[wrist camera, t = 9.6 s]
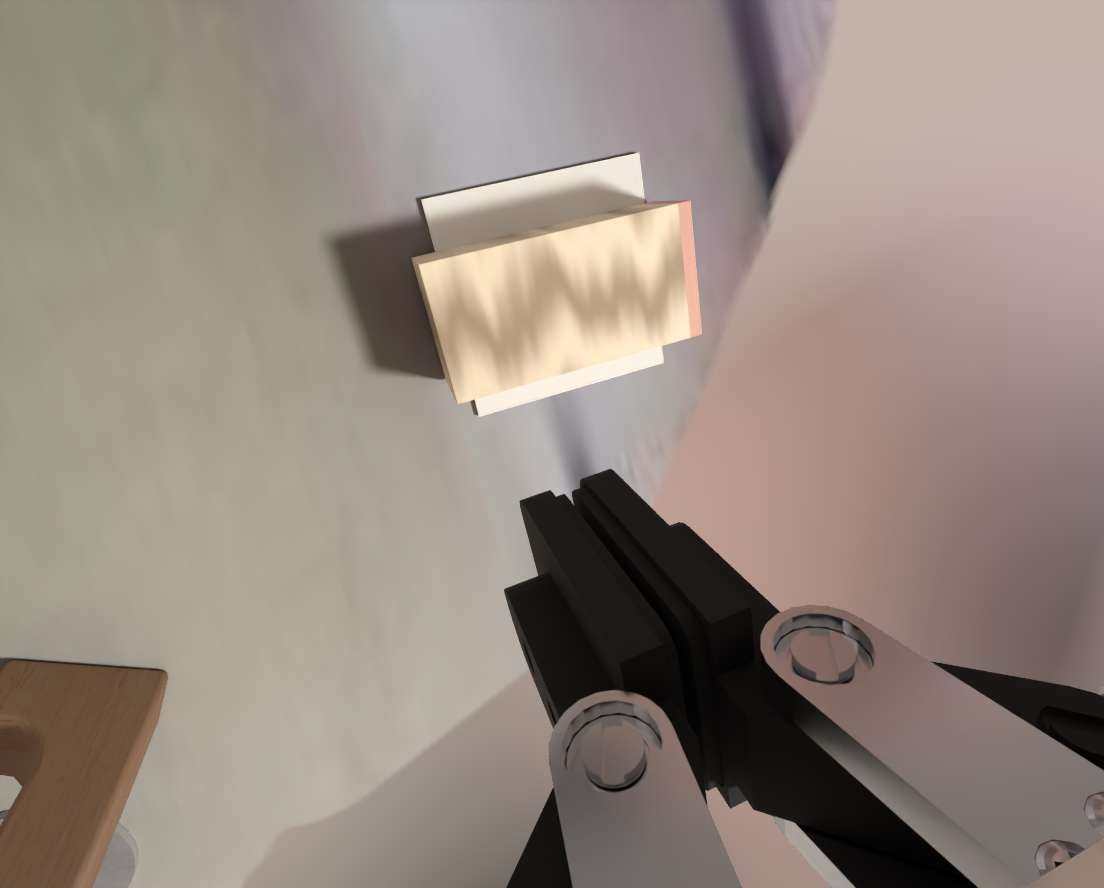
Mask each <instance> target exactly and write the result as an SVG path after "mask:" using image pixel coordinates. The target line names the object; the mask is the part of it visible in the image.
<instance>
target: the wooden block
mask: <svg viewBox="0 0 1104 888" xmlns="http://www.w3.org/2000/svg"><path fill="white" fill-rule="evenodd" d="M167 680H168V676H167V672H165V671H158V670H144V669H131V668H117V667H103V666H89V665H75V664H61V663H47V662H33V661H20V660H12V661H9V662H7V663H6V664H5V665H4V666H3V668H2V669H1V670H0V775H6V776H13V777H15V779H16V780H17V781H18V782H19V783H20V785H21V786H22V789H21V791H20V793H19V794H18V796H17V798H16V799H15V801H14V803H13V805H12V806H11V808H10V810H9V812H8V813H7V815H6V817H5V818H4V820H3V822H2V824H1V825H0V888H93V886H94V883H95V881H96V878H97V876H98V873H99V871H100V868H101V865H102V863H103V860H104V858H105V855H106V853H107V850H108V848H109V845H110V842H111V840H112V837H113V835H114V832H115V830H116V827H117V825H118V822H119V819H120V817H121V814H122V812H123V809H124V807H125V804H126V802H127V799H128V796H129V794H130V791H131V789H132V786H133V784H134V781H135V779H136V776H137V773H138V771H139V768H140V766H141V763H142V761H143V758H144V756H145V753H146V751H147V748H148V745H149V743H150V740H151V738H152V735H153V733H154V730H155V728H156V725H157V723H158V720H159V716H160V711H161V707H162V702H163V698H164V693H165V689H166V684H167Z"/></svg>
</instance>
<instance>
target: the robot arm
mask: <svg viewBox="0 0 1104 888" xmlns="http://www.w3.org/2000/svg"><path fill="white" fill-rule="evenodd" d="M572 497H573V503H574V505H573V504H572V502H571V501H570V500H569V499H568V497H567V496H566V495H565V494H562V495H560V496H557V497H555V495H554V494H553V493H552V491H551V490H549V491H546V492H543V493H540V494H537V495H535V496H532V497H529V498H526V499H523V500H520V508H521V512H522V516H523V520H524V523H525V527H526V531H527V535H528V538H529V542H530V546H531V550H532V553H533V557H534V561H535V565H536V568H537V572H538V576H537V577H534V578H532V579H529V580H527V581H524V582H521V583H519V584H516V585H514V586H511V587H508V588H506V589H504V592H505V596H506V600H507V603H508V607H509V610H510V613H511V616H512V620H513V623H514V626H515V629H516V633H517V635H518V638H519V641H520V644H521V647H522V650H523V653H524V656H525V658H526V661H527V664H528V667H529V669H530V672H531V674H532V677H533V679H534V682H535V684H536V687H537V689H538V692H539V694H540V697H541V699H542V702H543V704H544V707H545V709H546V711H547V714H548V717H549V719H550V721H551V724H552V726H553V732H552V735H551V738H550V741H549V765H550V770H551V775H552V781H553V786H554V787H553V789H552V791H551V793H550V795H549V798H548V800H547V802H546V804H545V806H544V808H543V811H542V813H541V815H540V817H539V819H538V821H537V823H536V825H535V828H534V830H533V832H532V834H531V836H530V838H529V840H528V843H527V845H526V847H525V849H524V851H523V853H522V856H521V858H520V860H519V862H518V864H517V866H516V868H515V871H514V873H513V875H512V877H511V879H510V881H509V883H508V885H507V888H742V886H741V884H740V882H739V879H738V877H737V875H736V872H735V870H734V868H733V865H732V863H731V861H730V859H729V856H728V854H727V852H726V849H725V847H724V845H723V842H722V840H721V837H720V835H719V833H718V830H717V828H716V826H715V823H714V821H713V819H712V816H711V814H710V812H709V810H708V807H707V800H706V793H705V790H707V791H708V790H710V789H712V788H714V787H717V788H718V790H719V792H720V793H721V795H722V796H723V798H724V799H725V801H726V803H727V804H728V806H729V807H730V808H732V807H735V806H736V805H738V804H740V803H742V802H744V801H746V800H747V801H748V802H749V804H750V805H751V806H752V808H753V809H754V810H756V811H760V812H763V813H766V814H769V815H772V816H773V817H774V820H775V823H776V824H777V825H778V827H779V829H780V830H781V831H782V833H783V834H784V836H785V837H786V838H787V840H788V841H789V842H790V843H791V844H792V845H793V846H794V847H795V848H796V850H797V851H798V852H799V853H800V854H801V855H802V856H803V857H804V859H805V860H806V861H807V862H808V863H809V864H810V865H811V866H812V867H813V868H814V870H815V871H816V872H817V873H818V874H819V875H820V876H821V878H822V879H823V880H824V881H825V882H826V883H827V884H828V885H829V886H830V888H1104V685H1102V686H1101V690H1100V693H1099V695H1098V694H1096V693H1092V692H1089V691H1085V690H1081V689H1077V688H1073V687H1070V686H1064V685H1059V684H1053V683H1048V682H1042V681H1037V680H1031V679H1026V678H1019V677H1014V676H1008V675H1003V674H998V673H992V672H987V671H981V670H975V669H970V668H964V667H959V666H953V665H948V664H942V663H936V662H931V661H929V660H927V659H926V658H924V657H922V656H921V655H919V654H918V653H916V652H914V651H913V650H911V649H910V648H908V647H907V646H905V645H903V644H902V643H900V642H899V641H897V640H895V639H894V638H892V637H891V636H889V635H888V634H886V633H884V632H883V631H881V630H880V629H878V628H876V627H875V626H873V625H871V624H870V623H868V622H867V621H865V620H864V619H862V618H859V617H858V616H856V615H854V614H851V613H849V612H847V611H845V610H840V609H837V608H833V607H829V606H818V605H817V606H816V605H805V606H799V607H792V608H790V609H787V610H785V611H782V612H779V611H778V610H777V609H776V608H775V607H774V606H773V605H772V604H771V603H770V602H769V601H768V600H767V599H765V598H764V596H762V595H761V594H760V593H759V592H758V591H757V590H756V589H755V588H754V587H753V586H752V585H751V584H750V583H749V582H747V581H746V580H745V579H744V578H743V577H742V576H741V575H740V574H739V573H738V572H737V571H736V570H734V568H733V567H731V566H730V565H729V564H728V563H727V562H726V561H725V560H724V559H723V558H722V557H721V556H720V555H719V554H718V553H716V552H715V551H714V550H713V549H712V548H711V547H710V546H709V545H708V544H707V543H706V542H705V541H704V540H703V539H702V538H700V537H699V536H698V535H697V534H696V533H695V532H694V531H693V530H692V529H691V528H690V527H688V526H687V525H686V524H684V523H680V522H678V523H676V524H673V525H670V526H669V525H668V524H667V523H666V522H665V521H664V520H663V519H662V518H661V517H660V516H659V515H658V514H657V513H656V512H655V511H654V510H653V509H652V508H651V507H650V506H649V505H648V504H647V503H646V502H645V501H644V500H643V499H642V498H641V497H640V496H639V495H638V494H637V493H636V492H635V491H634V490H633V489H632V488H631V487H630V486H629V485H628V484H627V483H626V482H625V481H624V480H623V479H622V478H621V477H620V476H619V475H617V474H616V473H615V472H614V471H613V470H612V469H609V470H606V471H603V472H600V473H597V474H594V475H591V476H589V477H586V478H583V479H581V481H580V488H579V489H577V490H574V491H573V492H572Z"/></svg>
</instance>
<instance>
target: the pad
mask: <svg viewBox="0 0 1104 888" xmlns="http://www.w3.org/2000/svg"><path fill="white" fill-rule="evenodd" d="M421 202H422V206H423V209H424V213H425V217H426V221H427V224H428V228H429V232H430V236H431V239H432V243H433V247H434V251H435V252H438V251H442V250H446V249H451V248H455V247H459V246H464V245H468V244H472V243H476V242H481V241H485V240H489V239H493V238H498V237H502V236H506V235H511V234H515V233H519V232H523V231H528V230H532V229H536V228H540V227H545V226H549V225H553V224H558V223H562V222H566V221H570V220H575V219H579V218H583V217H588V216H592V215H596V214H600V213H605V212H609V211H613V210H617V209H622V208H626V207H630V206H635V205H639V204H643V203H645V199H644V190H643V182H642V173H641V165H640V156H639V153H635V154H630V155H626V156H621V157H616V158H612V159H607V160H602V161H598V162H593V163H588V164H584V165H579V166H574V167H570V168H565V169H561V170H556V171H551V172H547V173H542V174H537V175H533V176H528V177H523V178H519V179H514V180H509V181H505V182H500V183H496V184H491V185H486V186H482V187H477V188H472V189H468V190H463V191H458V192H454V193H449V194H444V195H440V196H435V197H430V198H426V199H421ZM661 363H664V362H663V353H662V346H659V347H656V348H652V349H649V350H645V351H642V352H638V353H635V354H631V355H628V356H624V357H621V358H617V359H614V360H610V361H607V362H604V363H600V364H597V365H593V366H590V367H586V368H583V369H579V370H576V371H572V372H569V373H565V374H562V375H558V376H555V377H551V378H548V379H544V380H541V381H537V382H534V383H530V384H527V385H523V386H520V387H516V388H513V389H509V390H506V391H502V392H499V393H495V394H492V395H488V396H485V397H481V398H478V399H474V401H475V404H476V408H477V412H478V415H479V417H480V416H484V415H487V414H491V413H494V412H497V411H501V410H504V409H508V408H511V407H514V406H518V405H521V404H525V403H528V402H531V401H535V400H538V399H542V398H545V397H549V396H552V395H555V394H559V393H562V392H566V391H569V390H572V389H576V388H579V387H583V386H586V385H590V384H593V383H596V382H600V381H603V380H607V379H610V378H613V377H617V376H620V375H624V374H627V373H630V372H634V371H637V370H641V369H644V368H648V367H651V366H654V365H658V364H661Z"/></svg>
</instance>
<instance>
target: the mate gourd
mask: <svg viewBox="0 0 1104 888" xmlns="http://www.w3.org/2000/svg"><path fill="white" fill-rule="evenodd" d="M8 812H9V810H8V811H4V812H1V813H0V825H1V824H2V822H3V820H4V818H5V817H6V815H7V813H8ZM137 863H138V849H137V846H136V843H135V840H134V839H133V837H132V836H131V834H130V833H129V831H128V830H127V829H125V828H124V827H123V826H122V825H121V824H120V823H118V825H117V827H116V830H115V832H114V835H113V837H112V840H111V842H110V845H109V848H108V850H107V853H106V855H105V858H104V860H103V863H102V865H101V868H100V871H99V873H98V876H97V878H96V881H95V883H94V886H93V888H128V886H129V885H130V883H131V881H132V878H133V875H134V872H135V869H136V866H137Z"/></svg>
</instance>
